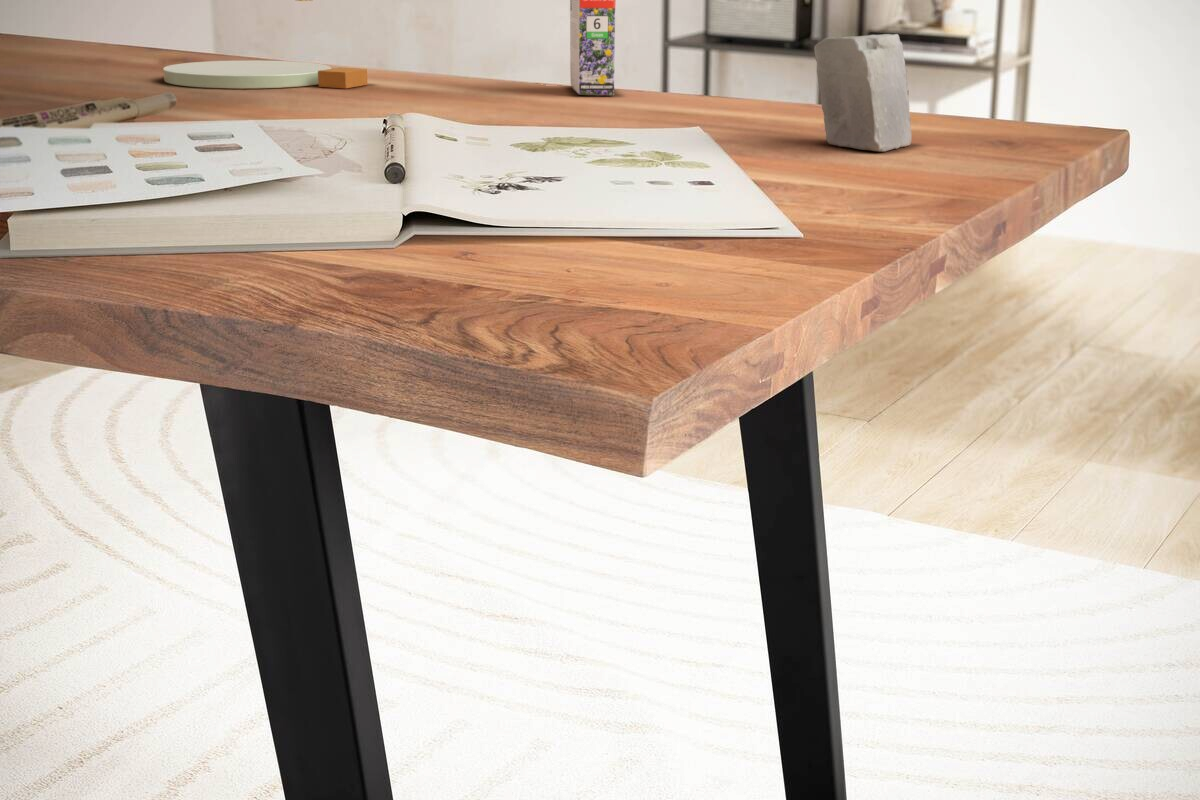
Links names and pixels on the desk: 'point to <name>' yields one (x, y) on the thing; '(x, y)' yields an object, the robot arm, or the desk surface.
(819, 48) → the mineral specimen
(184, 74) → the plate
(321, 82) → the orange brown block
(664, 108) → the desk surface
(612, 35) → the ink box
